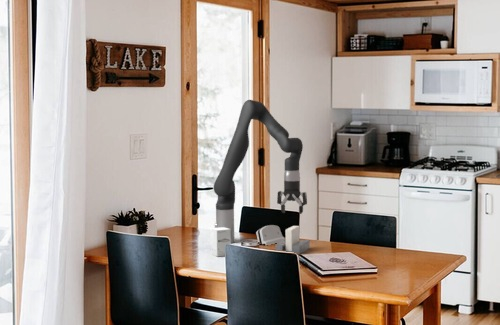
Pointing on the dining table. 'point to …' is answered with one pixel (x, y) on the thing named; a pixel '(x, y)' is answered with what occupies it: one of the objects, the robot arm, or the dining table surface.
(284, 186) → the robot arm
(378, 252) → the dining table surface
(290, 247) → the door panel
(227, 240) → the supplement box
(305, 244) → the door track
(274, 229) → the hinge
